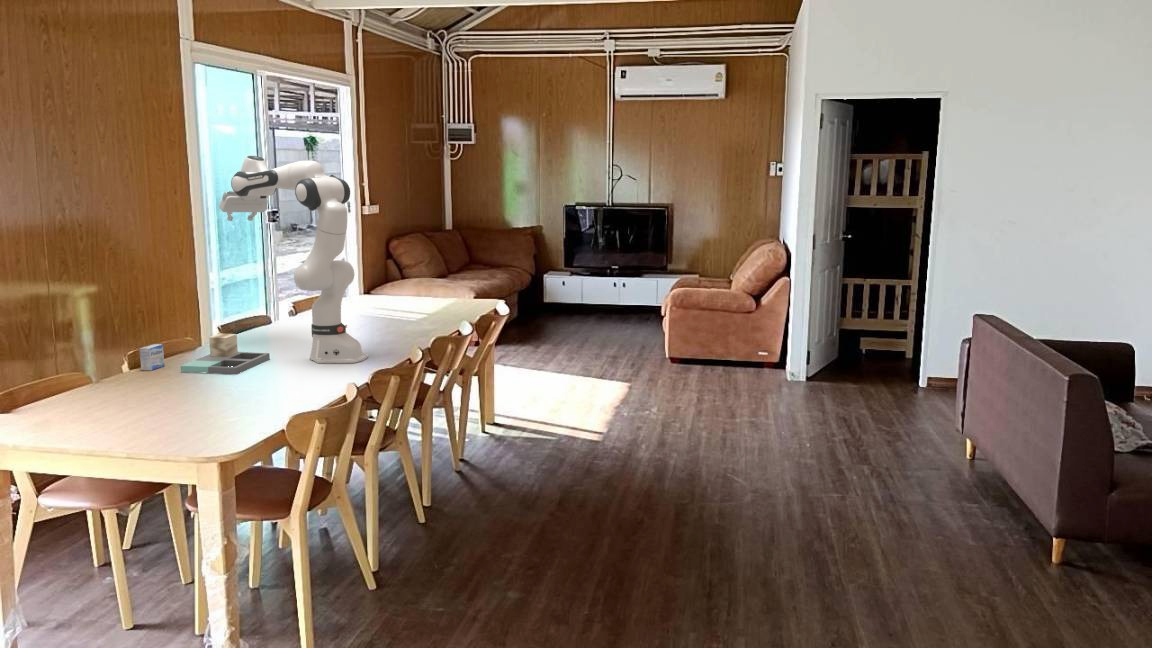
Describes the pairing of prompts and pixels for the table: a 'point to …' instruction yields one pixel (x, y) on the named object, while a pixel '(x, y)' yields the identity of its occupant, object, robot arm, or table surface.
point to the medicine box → (152, 357)
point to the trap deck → (226, 363)
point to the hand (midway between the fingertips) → (239, 220)
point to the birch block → (223, 345)
